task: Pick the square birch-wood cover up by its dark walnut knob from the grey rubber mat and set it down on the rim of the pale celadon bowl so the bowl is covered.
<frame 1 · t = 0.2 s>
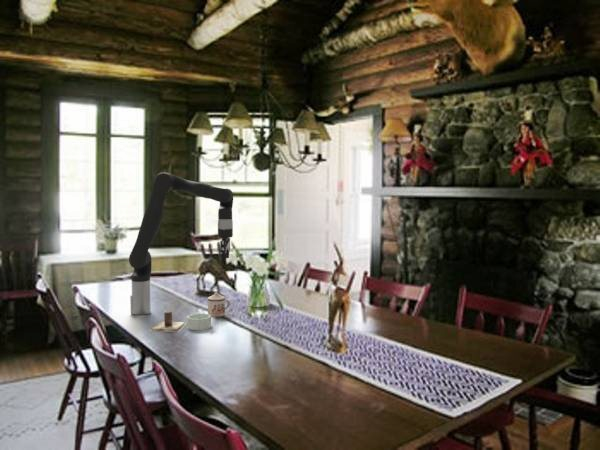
hand: (225, 259, 265), 29 cm above the table, fingers open, 8 cm apart
mat: (168, 328, 242), on the table
teacup with lid: (219, 315, 268), on the table
glass flower vase: (258, 304, 291), on the table
bowl: (199, 327, 243), on the table
cover: (168, 327, 242), resting on mat
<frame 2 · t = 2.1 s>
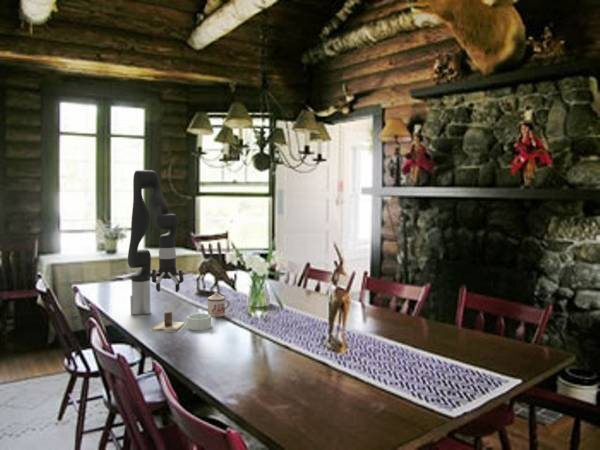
hand: (167, 291, 241), 17 cm above the table, fingers open, 8 cm apart
nothing on the table moved.
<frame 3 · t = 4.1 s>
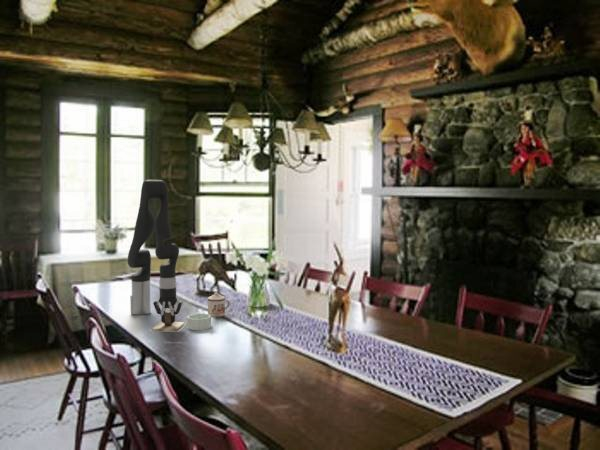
hand: (168, 322, 242), 3 cm above the table, fingers closed on cover, 3 cm apart
cover: (168, 327, 242), resting on mat, touching gripper
everything else where it was.
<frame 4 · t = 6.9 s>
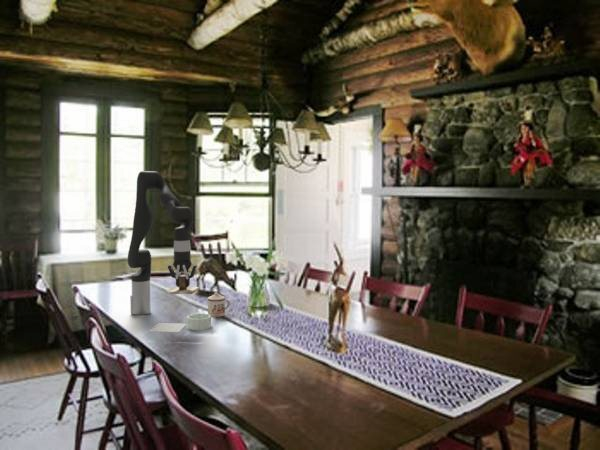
hand: (182, 286, 240), 20 cm above the table, fingers closed on cover, 3 cm apart
cover: (182, 291, 240), point 18 cm above the table, touching gripper
everything else where it was.
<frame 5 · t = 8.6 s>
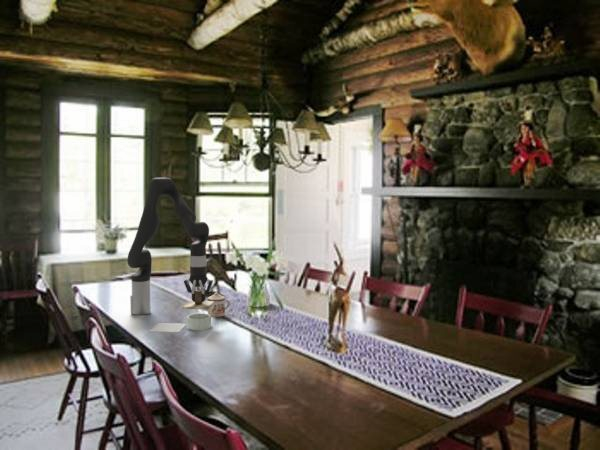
hand: (198, 301, 242), 13 cm above the table, fingers closed on cover, 3 cm apart
cover: (198, 305, 242), point 10 cm above the table, touching gripper
everything else where it was.
when the fingers open (9 cm above the table, at t = 10.1 s): cover stays where it is, resting on bowl.
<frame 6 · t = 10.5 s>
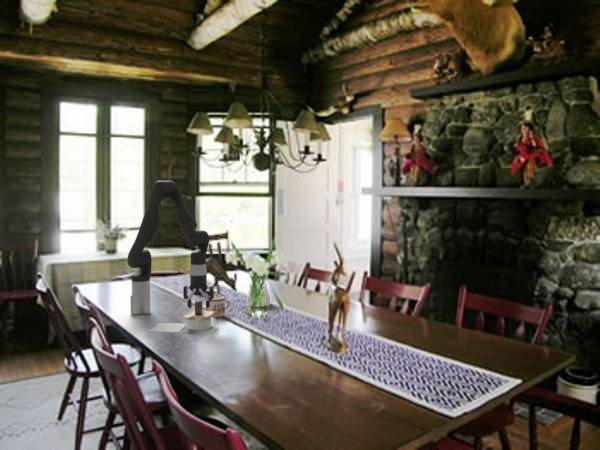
hand: (198, 308, 242), 9 cm above the table, fingers open, 7 cm apart
cover: (198, 316, 243), point 5 cm above the table, touching bowl
everything else where it was.
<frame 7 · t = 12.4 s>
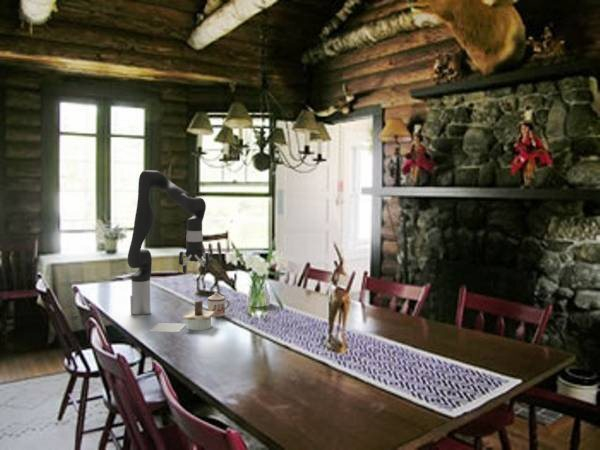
hand: (194, 273, 246), 25 cm above the table, fingers open, 8 cm apart
nothing on the table moved.
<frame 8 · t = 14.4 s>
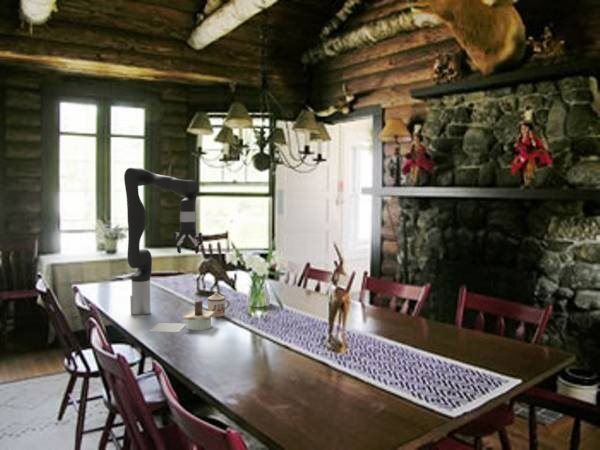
hand: (188, 253, 256), 33 cm above the table, fingers open, 8 cm apart
nothing on the table moved.
at the end: cover 0.1 cm off-centre on the bowl, point 5.5 cm above the bowl's base; cover tilted 0°; the gripper is holding nothing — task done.
